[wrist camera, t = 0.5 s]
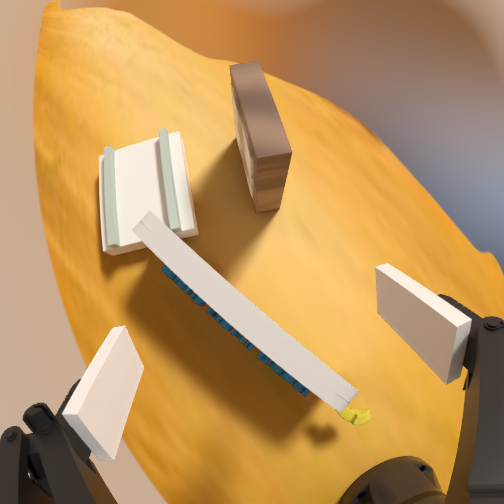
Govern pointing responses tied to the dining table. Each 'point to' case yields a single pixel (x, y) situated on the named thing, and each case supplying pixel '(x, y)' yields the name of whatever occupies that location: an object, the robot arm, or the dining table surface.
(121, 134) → the dining table surface
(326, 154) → the dining table surface
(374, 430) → the dining table surface
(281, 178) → the brown picture frame
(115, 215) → the panel
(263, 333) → the decorative sign
